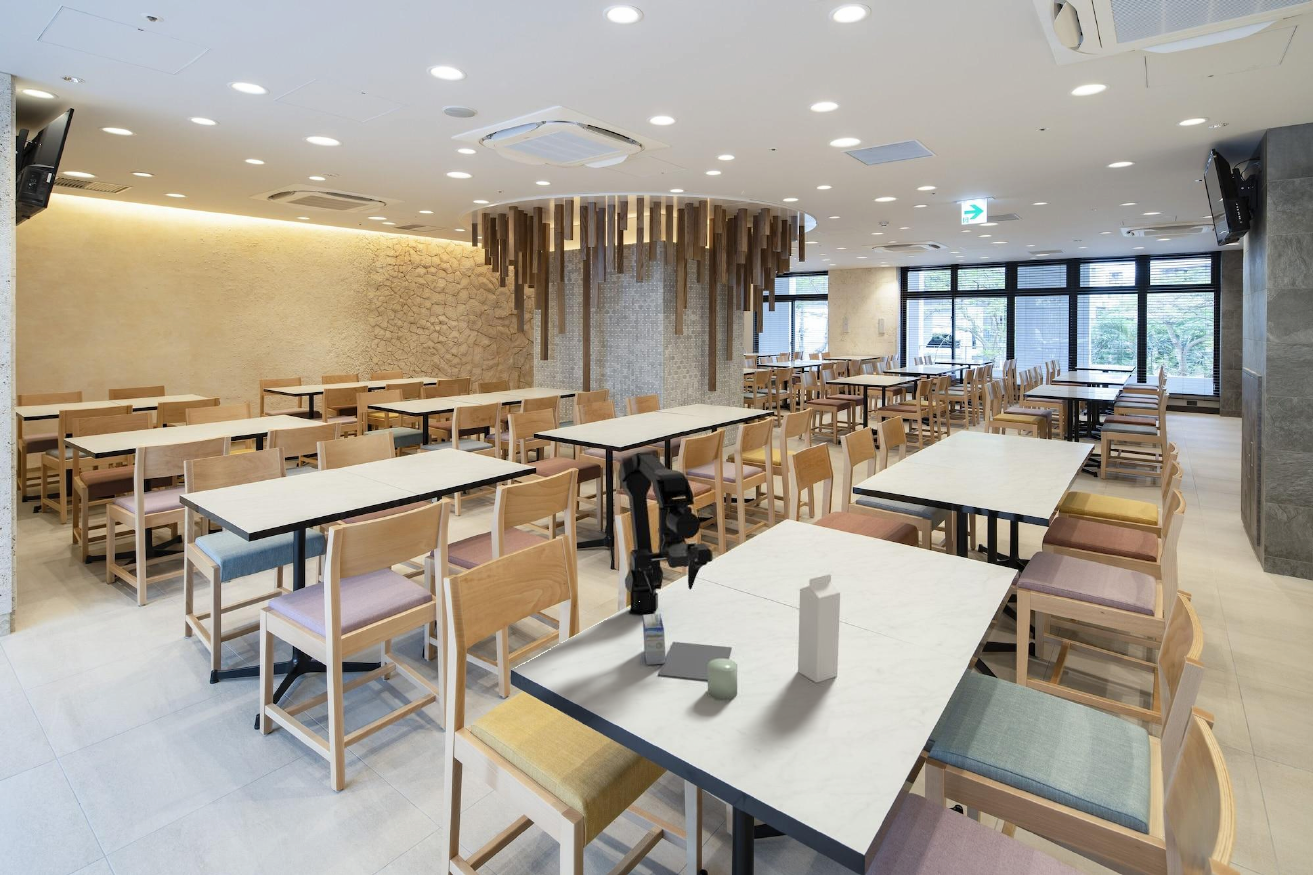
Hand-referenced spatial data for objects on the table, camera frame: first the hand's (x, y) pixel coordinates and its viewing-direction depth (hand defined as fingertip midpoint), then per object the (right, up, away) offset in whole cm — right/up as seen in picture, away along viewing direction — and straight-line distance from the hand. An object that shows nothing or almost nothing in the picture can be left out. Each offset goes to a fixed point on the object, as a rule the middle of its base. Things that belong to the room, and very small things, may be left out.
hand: (671, 590), depth 163 cm
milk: (+31, -15, -14) cm, 37 cm away
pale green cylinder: (+10, -16, -21) cm, 28 cm away
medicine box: (-4, -14, -6) cm, 15 cm away
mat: (+5, -14, -8) cm, 17 cm away
